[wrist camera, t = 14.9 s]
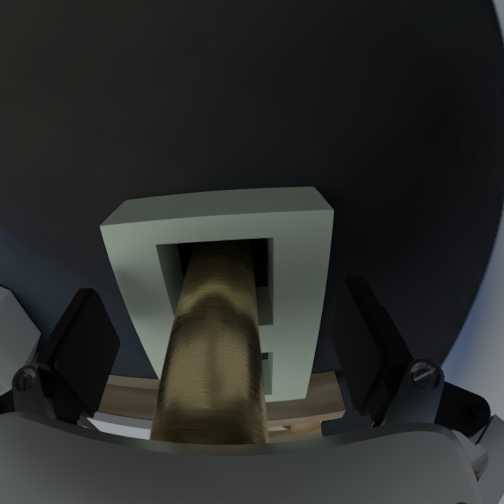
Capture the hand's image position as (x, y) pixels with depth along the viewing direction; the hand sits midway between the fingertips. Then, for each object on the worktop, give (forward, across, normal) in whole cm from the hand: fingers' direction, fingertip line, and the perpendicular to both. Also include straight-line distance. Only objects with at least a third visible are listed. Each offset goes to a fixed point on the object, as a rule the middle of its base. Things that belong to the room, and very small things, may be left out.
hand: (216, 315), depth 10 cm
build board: (+5, 0, +3) cm, 6 cm away
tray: (+5, +2, +16) cm, 17 cm away
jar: (+5, +20, +5) cm, 22 cm away
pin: (+5, 0, 0) cm, 5 cm away
